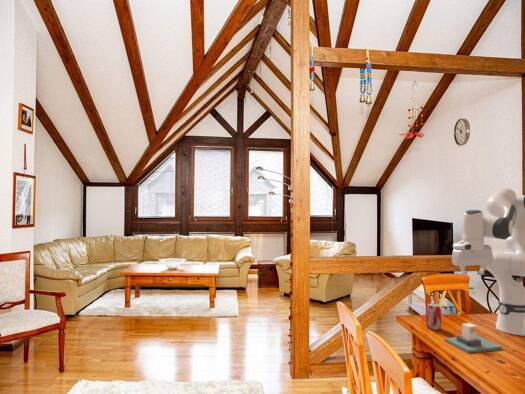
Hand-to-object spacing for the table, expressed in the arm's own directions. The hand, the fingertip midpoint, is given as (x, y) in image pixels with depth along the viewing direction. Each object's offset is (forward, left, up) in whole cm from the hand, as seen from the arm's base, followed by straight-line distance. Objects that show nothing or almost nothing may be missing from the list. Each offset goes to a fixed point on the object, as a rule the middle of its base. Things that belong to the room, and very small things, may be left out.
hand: (472, 274), depth 171 cm
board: (+3, +3, -31) cm, 31 cm away
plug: (+5, +3, -30) cm, 30 cm away
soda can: (+5, -20, -31) cm, 37 cm away
